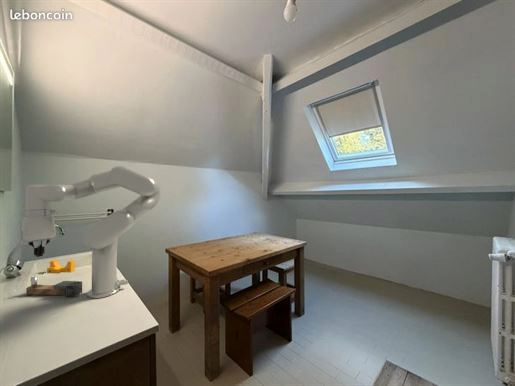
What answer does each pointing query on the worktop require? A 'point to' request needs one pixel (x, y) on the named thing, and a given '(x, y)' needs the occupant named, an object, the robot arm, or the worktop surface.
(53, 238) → the robot arm
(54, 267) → the pipe clamp
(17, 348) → the worktop surface
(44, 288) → the link
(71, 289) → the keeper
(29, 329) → the worktop surface
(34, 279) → the pintle
